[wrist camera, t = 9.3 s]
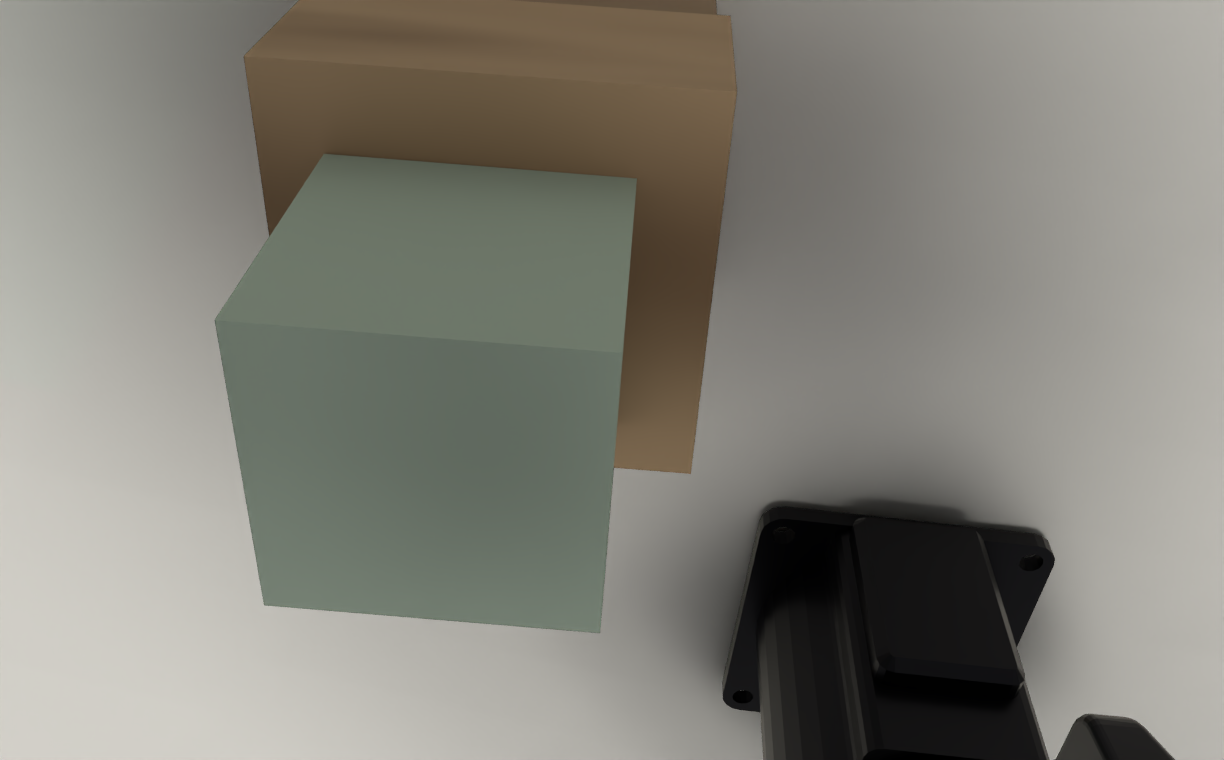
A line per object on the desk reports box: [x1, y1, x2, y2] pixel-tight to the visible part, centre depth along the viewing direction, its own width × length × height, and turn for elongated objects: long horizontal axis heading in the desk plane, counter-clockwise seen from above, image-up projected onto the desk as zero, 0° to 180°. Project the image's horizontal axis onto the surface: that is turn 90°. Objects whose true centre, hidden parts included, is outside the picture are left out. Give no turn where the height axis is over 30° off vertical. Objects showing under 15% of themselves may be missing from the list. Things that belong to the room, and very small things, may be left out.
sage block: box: [215, 154, 637, 633], centre depth 14 cm, size 4×4×4 cm
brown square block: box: [244, 0, 737, 474], centre depth 16 cm, size 6×6×3 cm
